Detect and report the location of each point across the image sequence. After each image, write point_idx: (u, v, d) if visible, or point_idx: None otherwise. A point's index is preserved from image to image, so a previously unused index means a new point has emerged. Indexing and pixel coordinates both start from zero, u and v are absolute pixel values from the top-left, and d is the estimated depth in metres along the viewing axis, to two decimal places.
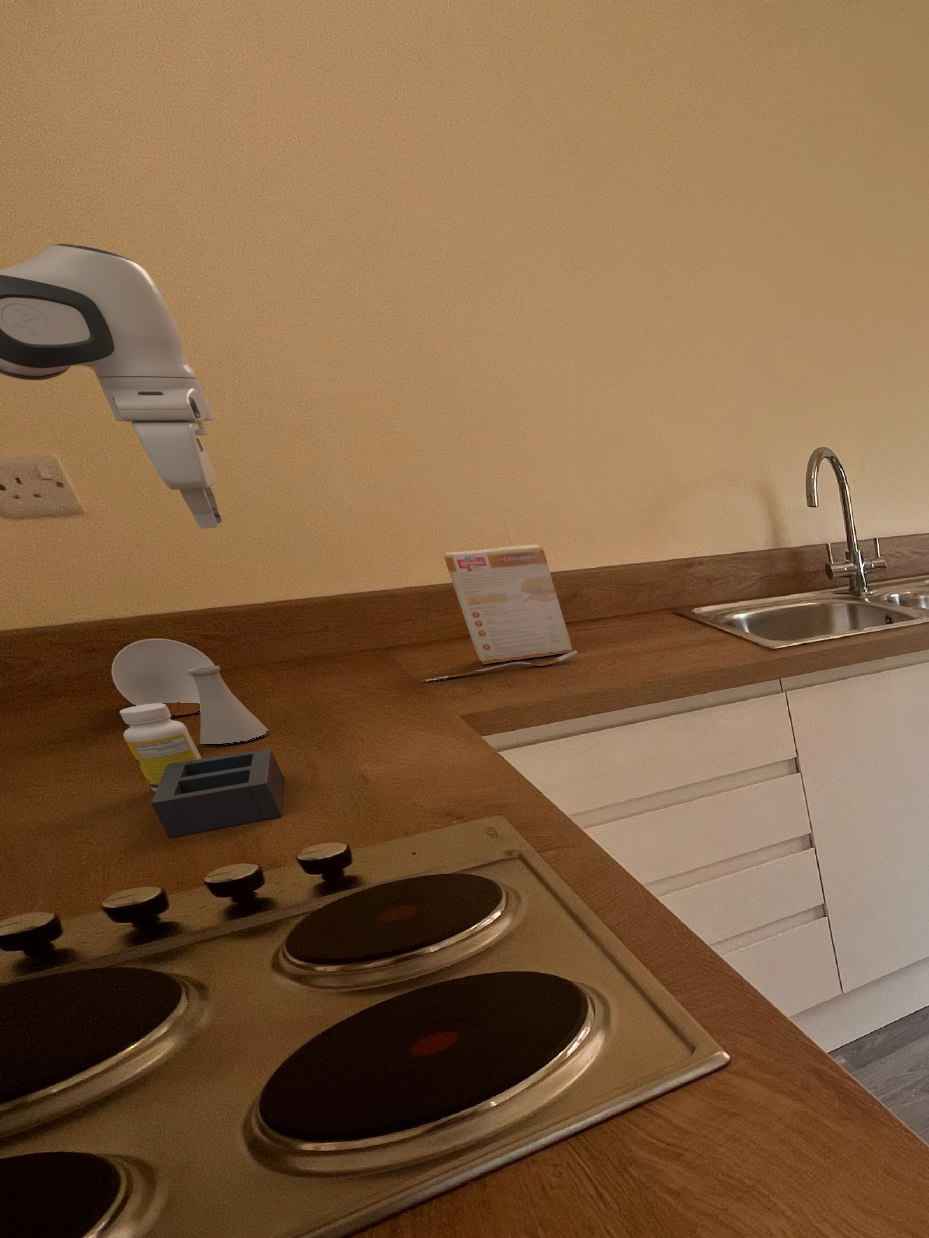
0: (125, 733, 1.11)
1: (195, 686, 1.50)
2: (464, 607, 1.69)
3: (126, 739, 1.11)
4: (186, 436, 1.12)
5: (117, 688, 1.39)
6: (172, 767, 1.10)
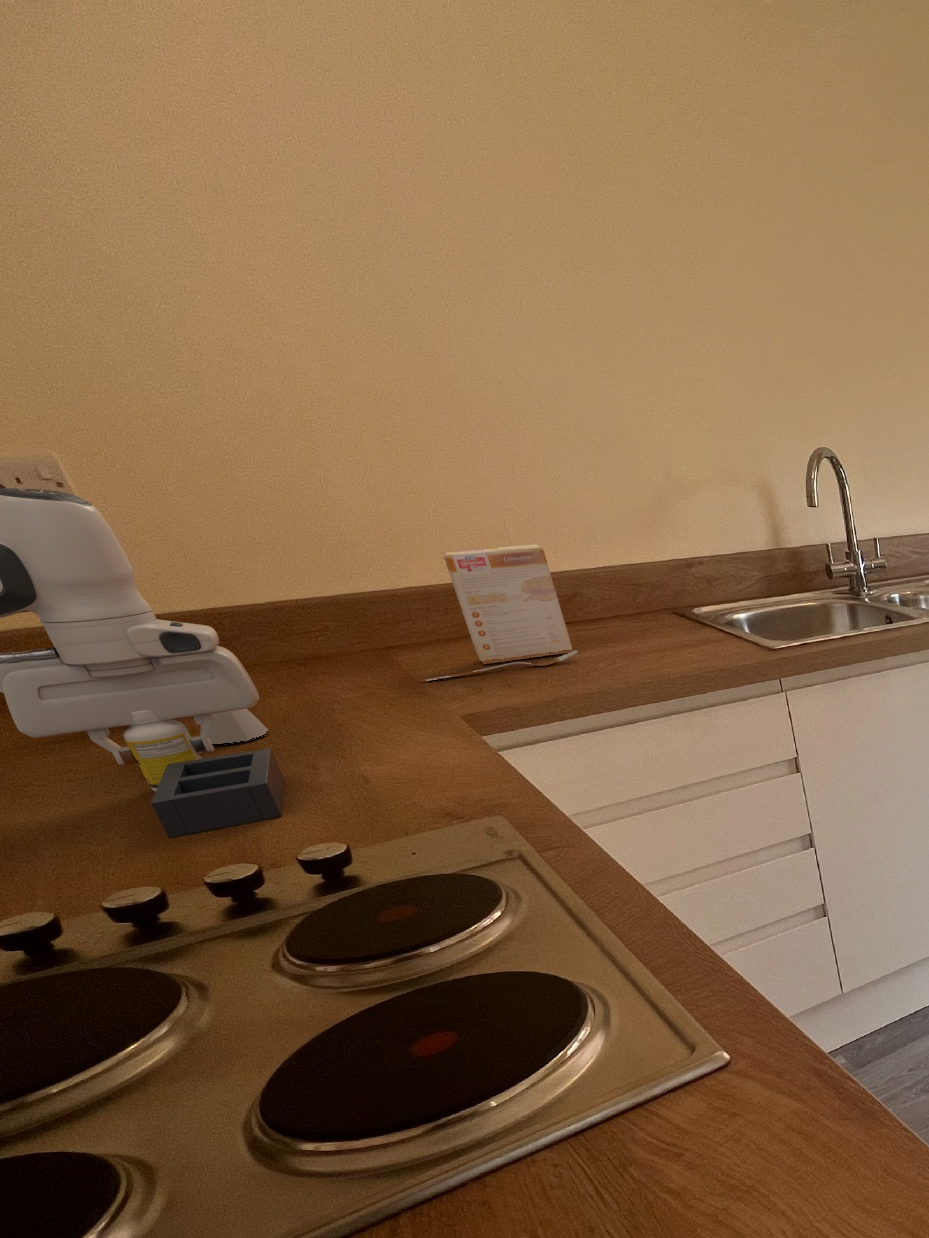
0: (125, 733, 1.11)
1: None
2: (464, 607, 1.69)
3: (126, 739, 1.11)
4: None
5: None
6: (172, 767, 1.10)
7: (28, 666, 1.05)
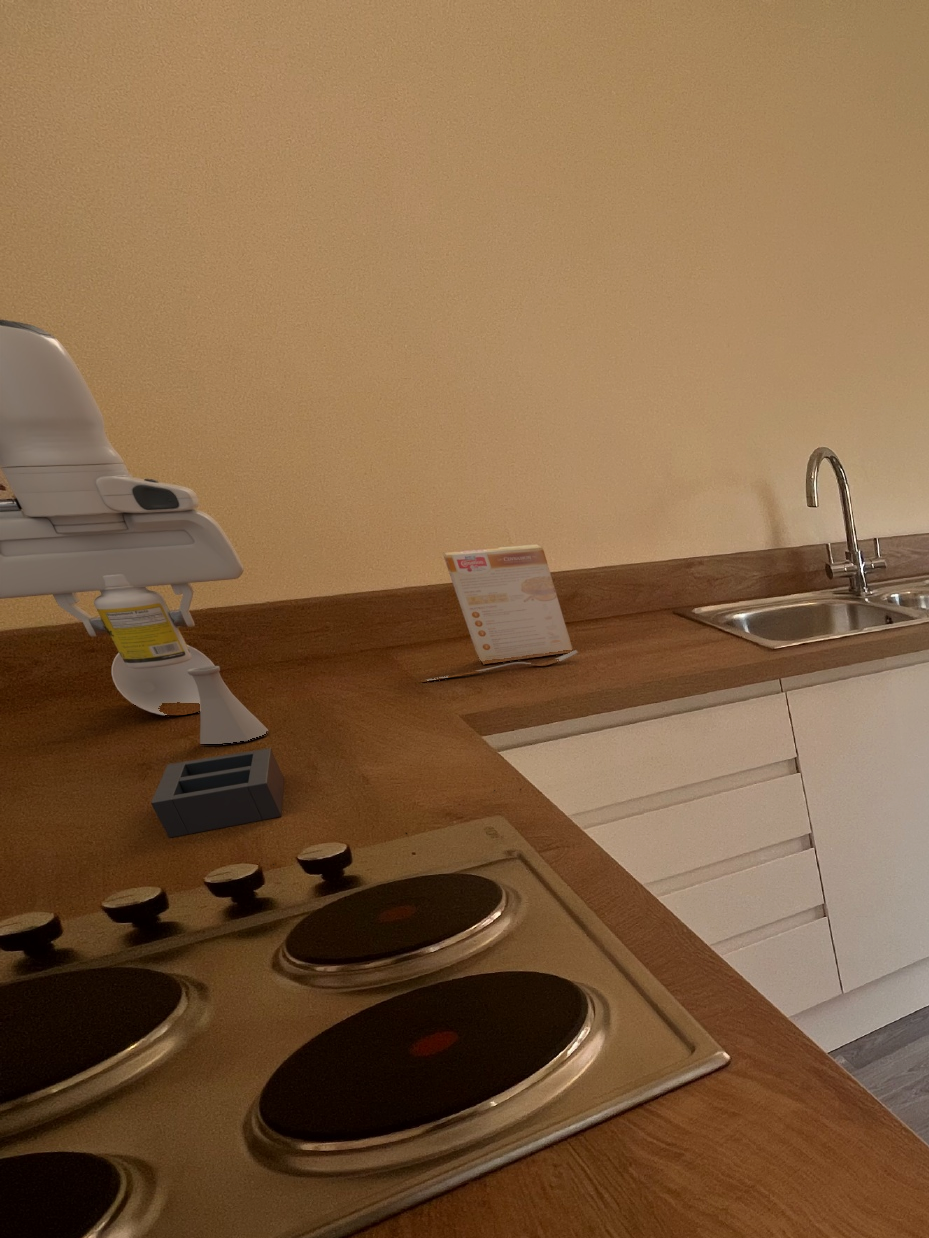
0: (96, 600, 1.01)
1: (195, 686, 1.50)
2: (464, 607, 1.69)
3: (97, 606, 1.01)
4: None
5: (117, 688, 1.39)
6: (172, 767, 1.10)
7: None
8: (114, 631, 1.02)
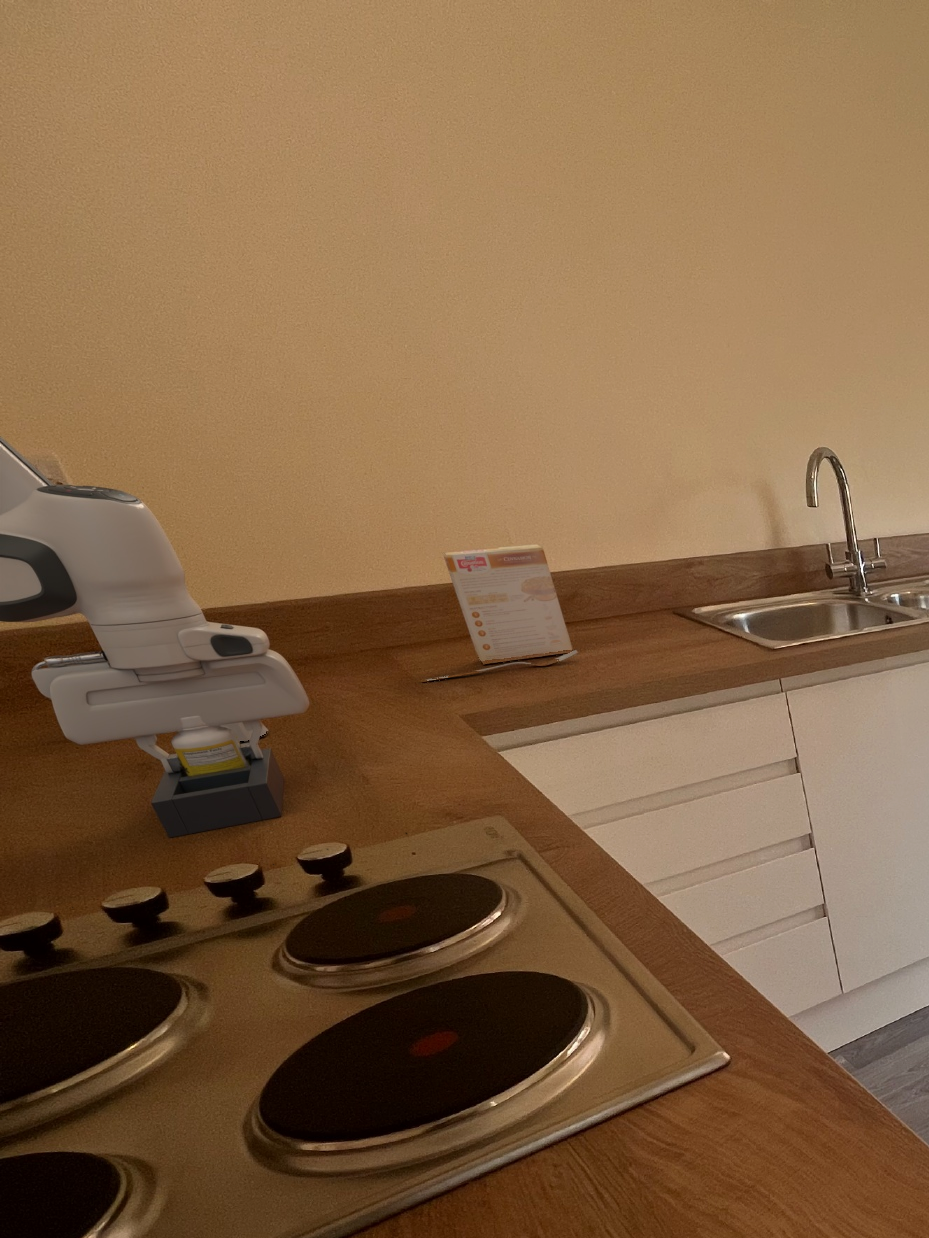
0: (173, 740, 1.07)
1: None
2: (464, 607, 1.69)
3: (174, 746, 1.07)
4: None
5: None
6: None
7: (76, 670, 1.01)
8: (190, 768, 1.08)
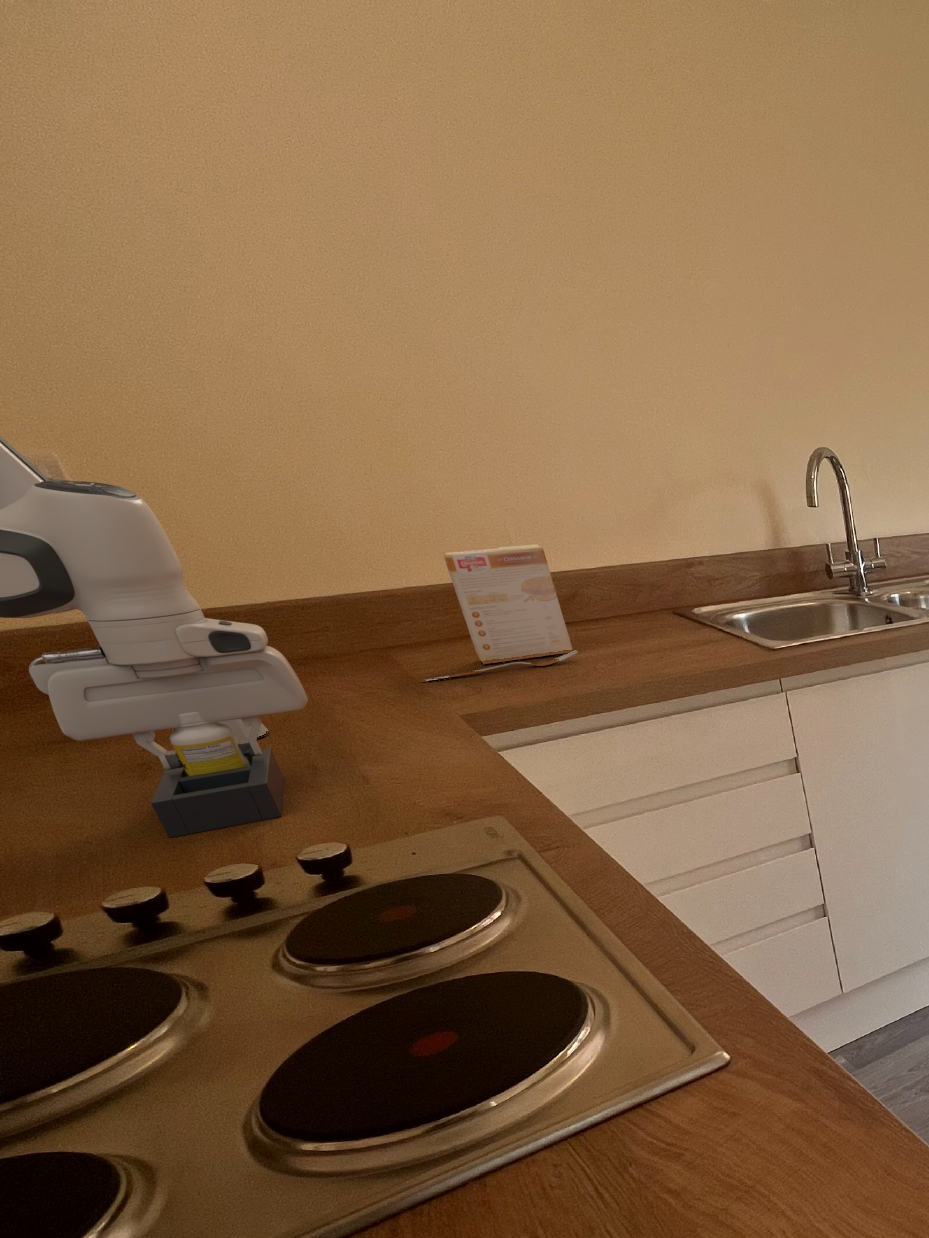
0: (171, 736, 1.06)
1: None
2: (464, 607, 1.69)
3: (172, 742, 1.07)
4: (284, 657, 1.12)
5: None
6: None
7: (73, 666, 1.00)
8: (188, 765, 1.07)
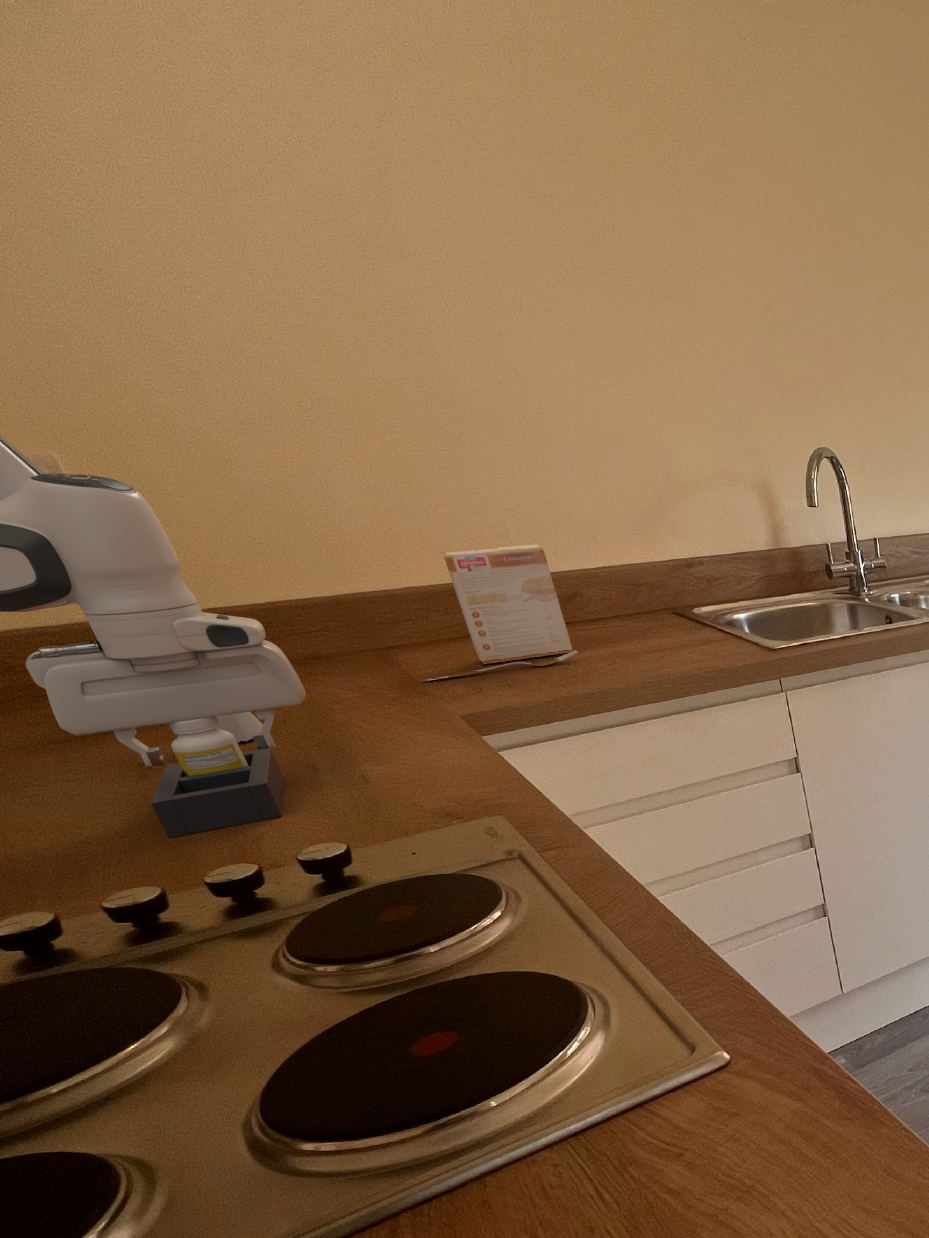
0: (173, 743, 1.07)
1: None
2: (464, 607, 1.69)
3: (174, 750, 1.07)
4: None
5: None
6: (172, 767, 1.10)
7: (70, 660, 1.00)
8: (189, 772, 1.08)
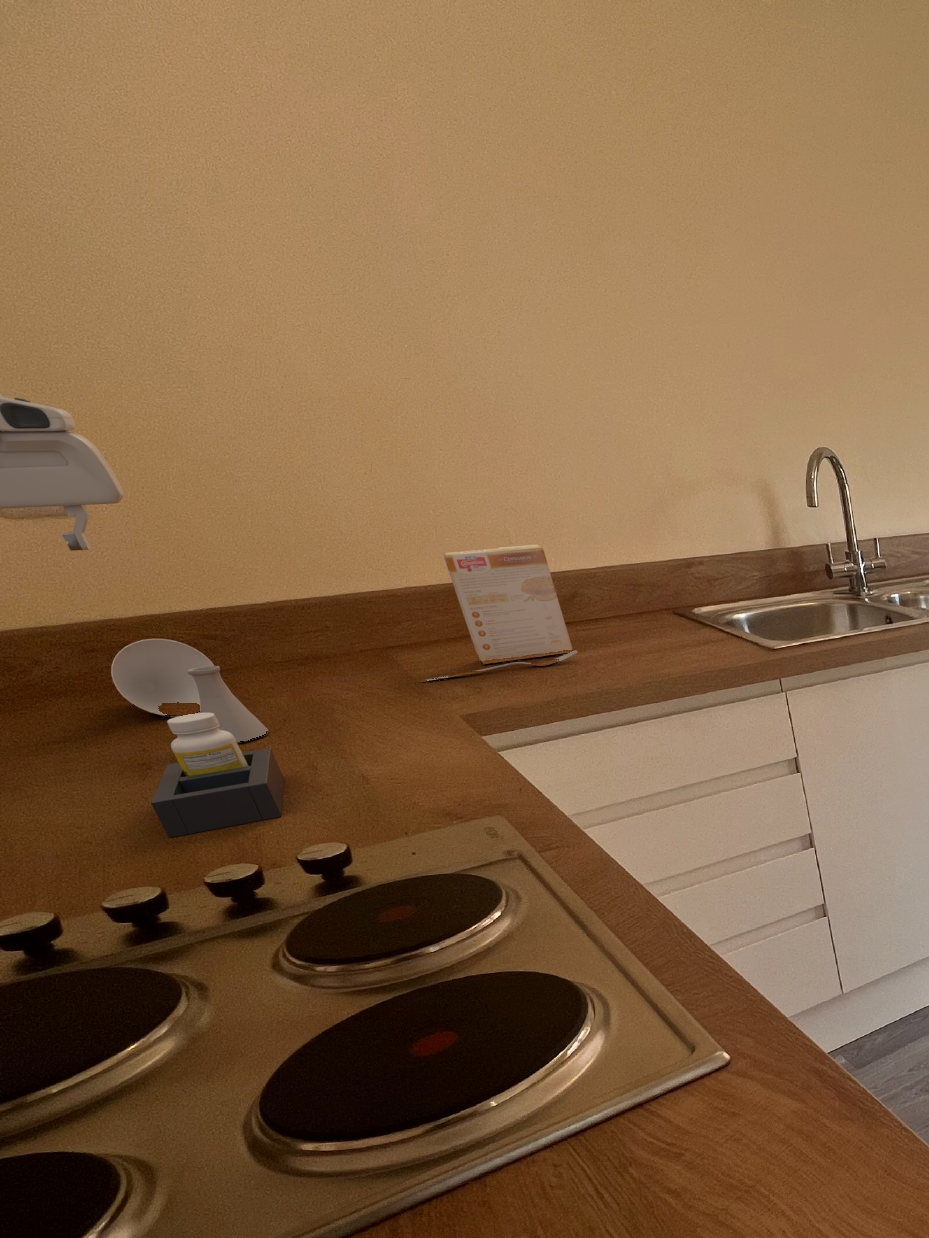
0: (173, 744, 1.07)
1: (195, 686, 1.50)
2: (464, 607, 1.69)
3: (174, 750, 1.07)
4: None
5: (117, 688, 1.39)
6: (172, 767, 1.10)
7: None
8: (189, 772, 1.08)
